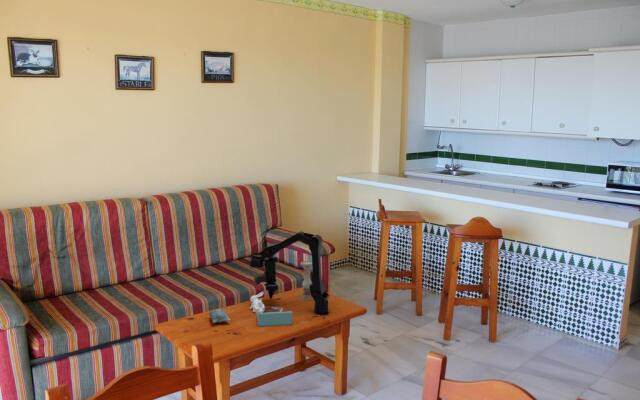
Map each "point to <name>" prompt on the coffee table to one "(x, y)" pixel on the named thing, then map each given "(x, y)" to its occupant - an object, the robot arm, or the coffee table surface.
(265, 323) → the display stand
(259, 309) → the rabbit figurine
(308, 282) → the candle holder
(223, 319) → the packaged food
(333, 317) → the coffee table surface
